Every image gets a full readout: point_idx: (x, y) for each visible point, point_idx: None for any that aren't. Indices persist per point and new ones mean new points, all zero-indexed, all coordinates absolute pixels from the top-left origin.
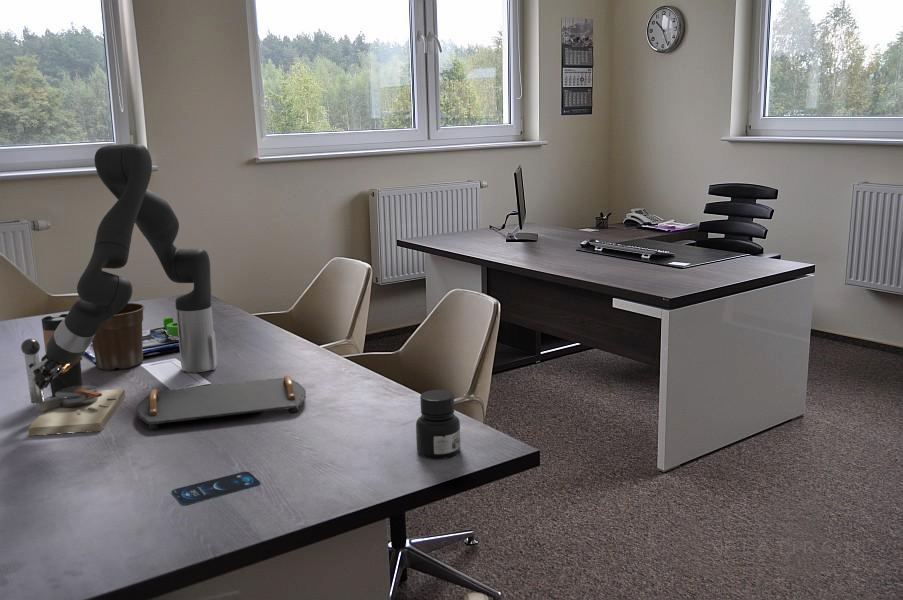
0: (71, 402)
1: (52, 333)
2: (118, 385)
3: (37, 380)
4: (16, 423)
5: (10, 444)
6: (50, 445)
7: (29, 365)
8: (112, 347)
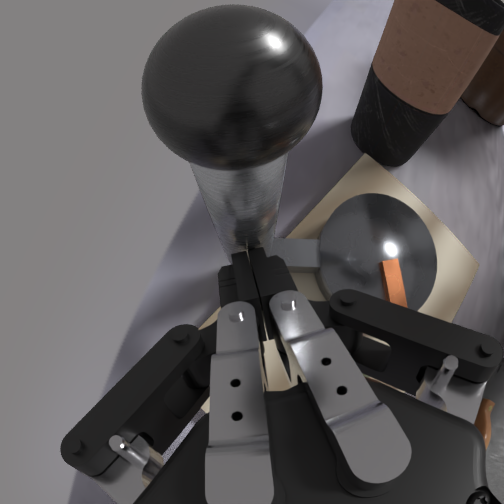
0: None
1: (430, 7)
2: (471, 182)
3: (220, 289)
4: (200, 230)
5: (117, 371)
6: None
7: (62, 450)
8: (493, 84)
